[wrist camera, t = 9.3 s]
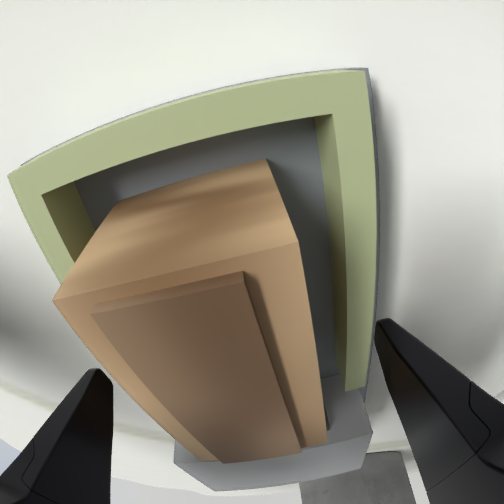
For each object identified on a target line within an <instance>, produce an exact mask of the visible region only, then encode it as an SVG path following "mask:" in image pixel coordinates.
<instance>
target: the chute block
mask: <svg viewBox="0 0 504 504" xmlns="http://www.w3.org/2000/svg"><path fill="white" fill-rule="evenodd" d="M52 301H53V302H54V304H55V305H56V307H57V308H58V310H59V311H60V312H61V314H62V315H63V317H64V318H65V319H66V321H67V322H68V323H69V325H70V326H71V327H72V329H73V330H74V331H75V333H76V334H77V335H78V337H79V338H80V339H81V340H82V342H83V343H84V344H85V345H86V347H87V348H88V349H89V350H90V352H91V353H92V354H93V355H94V356H95V358H96V359H97V360H98V361H99V362H100V364H101V365H102V366H103V367H104V368H105V369H106V370H107V372H108V373H109V374H110V375H111V376H112V377H113V378H114V379H115V381H116V382H117V383H118V384H119V385H120V386H121V387H122V388H123V389H124V390H125V391H126V392H127V393H128V394H129V396H130V397H131V398H132V399H133V400H134V401H135V402H136V403H137V404H138V405H139V406H140V407H141V408H142V409H143V410H144V411H145V412H146V413H147V414H148V415H149V416H150V417H152V418H153V419H154V420H155V421H156V422H157V423H158V424H159V425H160V426H161V427H162V428H163V429H164V430H165V431H167V432H168V433H169V434H170V435H171V436H172V437H173V438H174V439H176V440H177V441H178V442H179V443H180V444H181V445H182V446H184V447H185V448H186V449H187V450H188V451H190V452H191V453H192V454H193V455H194V456H196V457H197V458H198V459H199V460H201V461H212V460H219V461H220V462H222V463H223V464H228V463H238V462H247V461H255V460H262V459H269V458H276V457H282V456H288V455H293V454H298V453H302V448H306V447H310V446H315V445H319V444H324V443H328V439H327V430H326V421H325V412H324V404H323V396H322V388H321V381H320V373H319V366H318V359H317V352H316V345H315V338H314V331H313V325H312V318H311V312H310V306H309V300H308V293H307V288H306V282H305V276H304V270H303V264H302V259H301V253H300V248H299V242H298V239H297V237H296V234H295V231H294V229H293V226H292V224H291V221H290V218H289V216H288V213H287V211H286V208H285V205H284V203H283V200H282V198H281V195H280V193H279V190H278V188H277V185H276V183H275V180H274V178H273V175H272V173H271V170H270V168H269V165H268V163H267V160H266V158H265V159H261V160H257V161H253V162H249V163H245V164H241V165H237V166H233V167H229V168H225V169H221V170H218V171H214V172H210V173H207V174H203V175H199V176H196V177H192V178H189V179H186V180H182V181H179V182H175V183H172V184H169V185H166V186H162V187H159V188H156V189H153V190H150V191H147V192H143V193H140V194H137V195H134V196H131V197H128V198H125V199H123V200H120V201H118V202H117V203H116V204H115V206H114V207H113V208H112V210H111V211H110V212H109V214H108V215H107V216H106V218H105V219H104V221H103V222H102V223H101V225H100V226H99V228H98V229H97V231H96V232H95V233H94V235H93V236H92V238H91V239H90V241H89V242H88V244H87V245H86V247H85V248H84V250H83V251H82V253H81V254H80V256H79V257H78V259H77V260H76V262H75V263H74V265H73V267H72V268H71V270H70V271H69V273H68V275H67V276H66V278H65V280H64V281H63V283H62V285H61V286H60V288H59V290H58V291H57V293H56V295H55V296H54V298H53V300H52Z"/></svg>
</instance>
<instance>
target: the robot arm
mask: <svg viewBox="0 0 504 504" xmlns="http://www.w3.org/2000/svg"><path fill="white" fill-rule="evenodd" d="M374 342H375V346H376V350H377V353H378V356H379V360H380V363H381V367H382V370H383V374H384V377H385V381H386V384H387V387H388V390H389V393H390V395H391V397H392V400H393V402H394V405H395V407H396V410H397V412H398V415H399V417H400V420H401V423H402V425H403V428H404V430H405V433H406V436H407V438H408V441H409V444H410V446H411V449H412V452H413V454H414V457H415V460H416V463H417V466H418V469H419V471H420V474H421V477H422V480H423V483H424V486H425V489H426V491H427V496H428V499H429V502H430V504H504V404H503V403H501V402H500V401H498V400H497V399H495V398H494V397H492V396H491V395H489V394H488V393H487V392H485V391H484V390H483V389H481V388H480V387H479V386H477V385H476V384H475V383H474V382H472V381H470V379H468V378H467V377H466V376H465V375H463V374H462V373H461V372H460V371H458V370H457V369H456V368H454V367H453V366H452V365H451V364H449V363H448V362H447V361H445V360H444V359H443V358H442V357H440V356H439V355H438V354H436V353H435V352H434V351H433V350H431V349H430V348H429V347H427V346H426V345H425V344H423V343H422V342H421V341H419V340H418V339H417V338H416V337H414V336H413V335H412V334H410V333H409V332H408V331H406V330H405V329H404V328H402V327H401V326H400V325H398V324H397V323H396V322H394V321H393V320H392V319H390V318H385V319H382V320H378V321H377V322H376V326H375V336H374ZM112 439H113V384H112V382H111V380H110V379H109V378H108V377H107V376H106V375H105V373H104V372H103V371H102V370H101V369H99V368H94V369H89V370H88V371H87V372H86V373H85V374H84V375H83V377H82V378H81V379H80V380H79V381H78V383H77V384H76V385H75V386H74V387H73V389H72V390H71V391H70V392H69V393H68V395H67V396H66V397H65V398H64V400H63V401H62V402H61V403H60V404H59V406H58V407H57V408H56V409H55V411H54V412H53V413H52V414H51V416H50V417H49V418H48V419H47V421H46V422H45V423H44V424H43V426H42V427H41V428H40V429H39V431H38V432H37V433H36V434H35V436H34V438H32V440H31V441H30V442H29V443H28V445H27V446H26V447H25V448H24V450H23V451H22V452H21V453H20V455H19V456H18V457H17V458H16V459H15V460H14V461H13V462H12V464H11V465H10V466H9V467H8V468H7V469H6V470H5V471H4V472H3V473H2V475H1V476H0V504H110V482H111V455H112Z"/></svg>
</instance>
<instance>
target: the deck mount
mask: <svg viewBox="0 0 504 504" xmlns="http://www.w3.org/2000/svg"><path fill="white" fill-rule="evenodd" d="M265 158H266V160H267V163H268V165H269V168H270V170H271V173H272V175H273V178H274V180H275V183H276V185H277V188H278V190H279V193H280V195H281V198H282V200H283V203H284V205H285V208H286V211H287V213H288V216H289V218H290V221H291V224H292V226H293V229H294V231H295V234H296V237H297V239H298V242H299V248H300V253H301V259H302V264H303V270H304V276H305V282H306V288H307V293H308V300H309V306H310V312H311V318H312V325H313V331H314V338H315V345H316V352H317V359H318V366H319V373H320V381H321V388H322V396H323V404H324V412H325V421H326V430H327V439H328V443H324V444H319V445H315V446H310V447H306V448H302V453H298V454H293V455H288V456H282V457H276V458H269V459H262V460H255V461H247V462H238V463H228V464H223V463H222V462H220V461H219V460H212V461H201V460H199V459H198V458H197V457H196V456H194V455H193V454H192V453H191V452H190V451H188V450H187V449H186V448H185V447H184V446H182V445H181V444H180V443H179V442H178V441H177V440H176V439H175V447H174V464H176V465H177V466H178V467H180V468H181V469H183V470H184V471H185V472H187V473H188V474H190V475H191V476H192V477H194V478H195V479H197V480H198V481H200V482H201V483H203V484H204V485H206V486H207V487H209V488H210V489H212V490H214V491H231V490H245V489H255V488H264V487H272V486H280V485H286V484H293V483H298V482H304V481H309V480H314V479H319V478H324V477H328V476H333V475H337V474H341V473H345V472H349V471H353V470H356V469H360V468H361V466H362V463H363V460H364V458H365V455H366V452H367V449H368V446H369V443H370V440H371V437H372V434H373V431H372V428H371V425H370V422H369V419H368V415H367V412H366V409H365V406H364V400H365V394H366V388H367V382H368V375H369V369H370V361H371V354H372V345H373V337H374V327H375V316H376V304H377V290H378V272H379V243H380V201H379V171H378V154H377V140H376V128H375V118H374V108H373V100H372V92H371V84H370V77H369V71H368V68H344V69H332V70H322V71H313V72H305V73H298V74H290V75H284V76H278V77H272V78H266V79H260V80H255V81H250V82H245V83H240V84H236V85H231V86H227V87H222V88H218V89H214V90H210V91H206V92H202V93H198V94H195V95H191V96H187V97H184V98H180V99H177V100H173V101H170V102H167V103H164V104H160V105H157V106H154V107H151V108H148V109H145V110H142V111H139V112H137V113H134V114H131V115H128V116H125V117H123V118H120V119H117V120H115V121H112V122H110V123H107V124H105V125H102V126H100V127H97V128H95V129H92V130H90V131H88V132H85V133H83V134H81V135H79V136H76V137H74V138H72V139H70V140H68V141H65V142H63V143H61V144H59V145H57V146H55V147H53V148H51V149H49V150H47V151H45V152H43V153H41V154H39V155H37V156H35V157H33V158H32V159H30V160H28V161H27V162H25V163H23V164H22V165H21V167H19V168H18V169H16V170H15V171H13V172H12V173H10V174H8V175H7V177H8V179H9V182H10V184H11V187H12V189H13V192H14V194H15V196H16V199H17V201H18V203H19V205H20V208H21V210H22V212H23V214H24V216H25V218H26V220H27V223H28V225H29V227H30V229H31V231H32V233H33V235H34V237H35V239H36V241H37V242H38V244H39V246H40V248H41V250H42V252H43V254H44V256H45V257H46V259H47V261H48V263H49V265H50V266H51V268H52V270H53V272H54V273H55V275H56V277H57V278H58V280H59V282H60V283H61V285H62V283H63V281H64V280H65V278H66V276H67V275H68V273H69V271H70V270H71V268H72V267H73V265H74V263H75V262H76V260H77V259H78V257H79V256H80V254H81V253H82V251H83V250H84V248H85V247H86V245H87V244H88V242H89V241H90V239H91V238H92V236H93V235H94V233H95V232H96V231H97V229H98V228H99V226H100V225H101V223H102V222H103V221H104V219H105V218H106V216H107V215H108V214H109V212H110V211H111V210H112V208H113V207H114V206H115V204H116V203H117V202H118V201H120V200H123V199H125V198H128V197H131V196H134V195H137V194H140V193H143V192H147V191H150V190H153V189H156V188H159V187H162V186H166V185H169V184H172V183H175V182H179V181H182V180H186V179H189V178H192V177H196V176H199V175H203V174H207V173H210V172H214V171H218V170H221V169H225V168H229V167H233V166H237V165H241V164H245V163H249V162H253V161H257V160H261V159H265Z"/></svg>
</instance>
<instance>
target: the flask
mask: <svg viewBox="0 0 504 504" xmlns="http://www.w3.org/2000/svg"><path fill="white" fill-rule="evenodd" d="M299 485H300V491H301V498H302V504H416V501H415V498H414V495H413V491H412V488H411V484H410V481H409V478H408V474H407V471H406V468H405V465H404V461H403V458H402V455H401V454H400V453H398V452H379V453H368V454H366V455H365V458H364V460H363V463H362V466H361V468H360V469H356V470H353V471H349V472H345V473H341V474H337V475H333V476H328V477H324V478H319V479H314V480H309V481H304V482H299Z"/></svg>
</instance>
